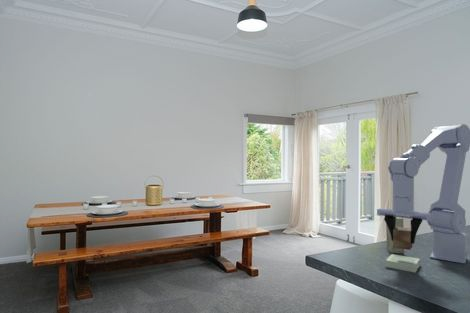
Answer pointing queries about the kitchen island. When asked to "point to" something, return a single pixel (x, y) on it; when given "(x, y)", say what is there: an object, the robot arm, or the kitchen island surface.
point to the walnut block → (402, 238)
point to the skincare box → (389, 241)
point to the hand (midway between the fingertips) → (402, 241)
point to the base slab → (403, 263)
